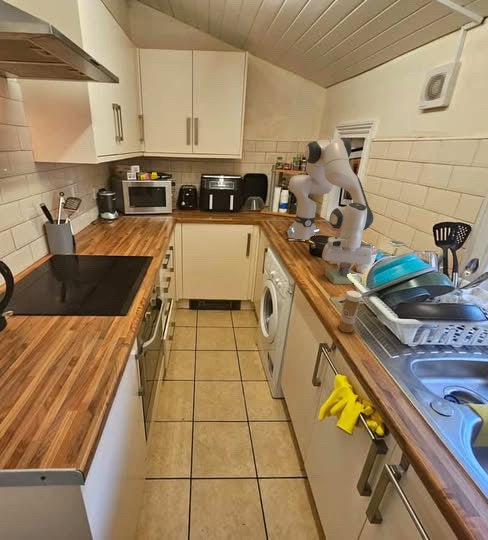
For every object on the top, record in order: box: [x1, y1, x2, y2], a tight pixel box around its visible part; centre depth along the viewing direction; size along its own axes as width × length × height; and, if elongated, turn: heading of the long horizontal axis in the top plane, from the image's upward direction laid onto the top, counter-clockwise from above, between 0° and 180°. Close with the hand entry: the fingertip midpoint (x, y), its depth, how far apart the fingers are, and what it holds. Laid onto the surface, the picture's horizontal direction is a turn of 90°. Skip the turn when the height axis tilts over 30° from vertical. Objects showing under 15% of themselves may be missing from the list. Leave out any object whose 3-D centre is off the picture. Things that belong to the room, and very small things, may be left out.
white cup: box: [355, 250, 378, 274], centre depth 144 cm, size 8×8×10 cm
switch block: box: [326, 261, 350, 265], centre depth 157 cm, size 10×10×4 cm
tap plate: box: [324, 267, 357, 285], centre depth 136 cm, size 12×12×3 cm
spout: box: [339, 262, 349, 277], centre depth 135 cm, size 8×2×4 cm, turn 169°
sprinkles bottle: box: [338, 290, 363, 333], centre depth 97 cm, size 5×5×14 cm
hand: (343, 270), depth 135 cm, fingers closed on spout, 2 cm apart
